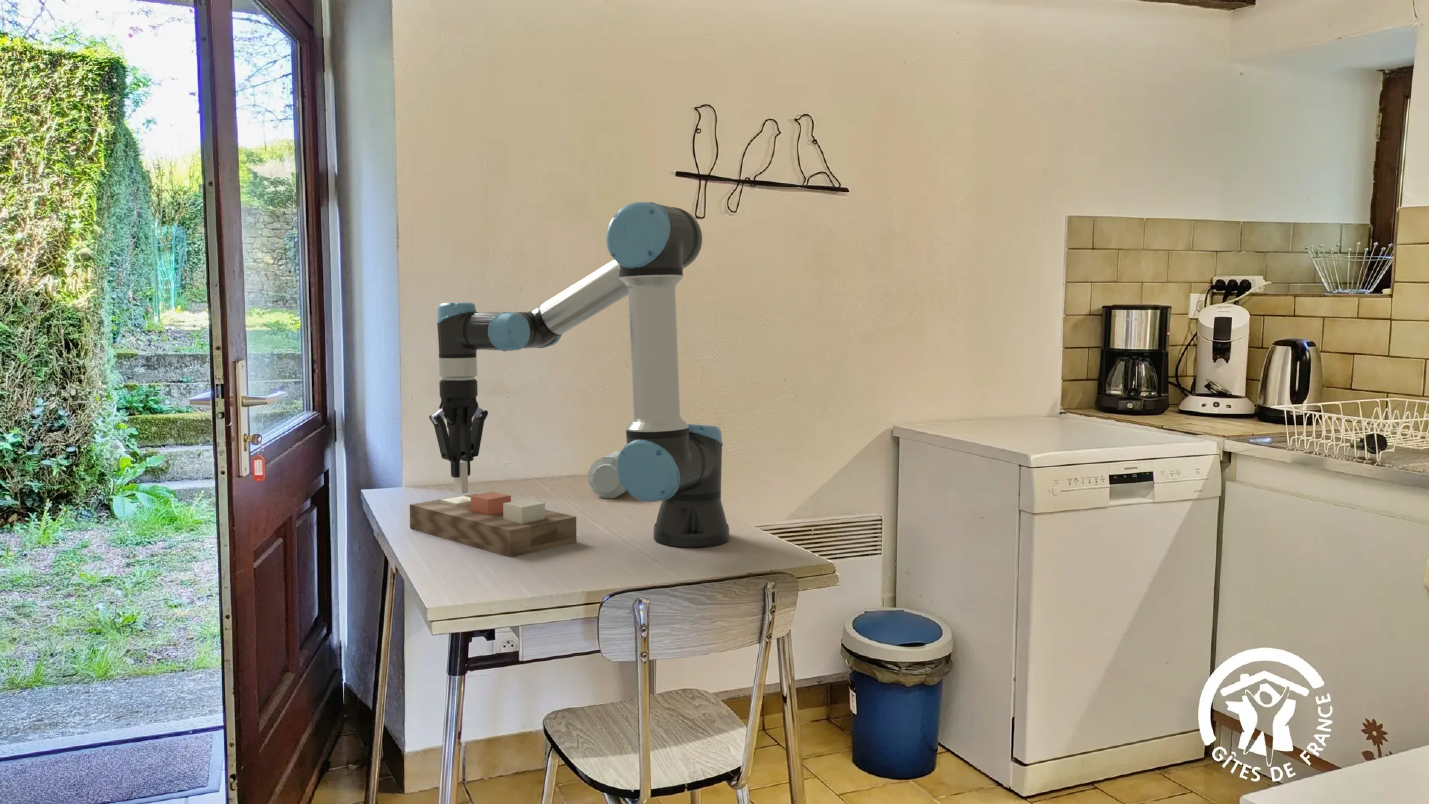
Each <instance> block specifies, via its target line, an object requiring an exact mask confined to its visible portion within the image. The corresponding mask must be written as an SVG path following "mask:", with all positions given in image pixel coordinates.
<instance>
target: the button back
mask: <svg viewBox="0 0 1429 804" xmlns="http://www.w3.org/2000/svg"><path fill="white" fill-rule="evenodd" d="M459 496H460V497H457V496H453V497H454V498H451V497H447V498H448V499H445V498H441V499H442V500H440V502H441V504H444V505H448V506H452V507H462V506H467V505H471V498H470V497H466V496H463V495H459Z"/></svg>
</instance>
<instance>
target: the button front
mask: <svg viewBox="0 0 1429 804" xmlns="http://www.w3.org/2000/svg"><path fill="white" fill-rule="evenodd" d="M545 510H546V502H542V501H536V500H533V499H527V498H525V499H520V500H519V499H518V500H514V501H511V502H507V503H503V519H504V520H508V521H512V522H516V523H520V524H523V523H528V522H533V521H538V520H542V519H545Z"/></svg>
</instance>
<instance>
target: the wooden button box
mask: <svg viewBox="0 0 1429 804" xmlns="http://www.w3.org/2000/svg"><path fill="white" fill-rule="evenodd" d="M478 494H479V493H469V494H464V495H462V496H466V497H470V498H471V496H472V495H478ZM460 496H461V495H458V496H456V497H460ZM454 497H455V496H452V497H451V496H450V498H454ZM448 498H449V497H446V498H444V499H448ZM442 499H443V498H440V499H433V500H427V501H422V502H416V503H412V504H409V529H410V530H415V531H418V532H421V533H425V534H428V535H431V536H435V537H439V538H443V539H445V540H448V541H453V542H455V543H460V544H463V545H466V546H470V547H473V548H477V549H481V550H485V551H487V552H491V553H494V554H498V555H501V556H505V557H508V558H513V557H517V556H521V555H525V554H529V553H535V552H538V551H542V550H547V549H551V548H552V549H553V548H555V547H559V546H563V545H569V544H573V543H577V516H574V515H571V514H567V513H566V514H565V513H562V512H556V511H552V510H548V509H545V519H542V520H538V521H533V522H528V523H523V524H520V523H516V522H512V521H508V520H504V519H503V513H497V514H492V515H484V514H480V513H476V512H472V511H471V505H467V506H462V507H452V506H448V505H444V504H441V502H440V500H442Z"/></svg>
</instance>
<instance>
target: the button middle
mask: <svg viewBox="0 0 1429 804" xmlns="http://www.w3.org/2000/svg"><path fill="white" fill-rule="evenodd" d="M477 494H478V495H472V496H471V511H472V512H476V513H480V514H484V515H492V514H497V513H503V503H507V502H512V495H510V494H505V493H500V492H497V491H491V492H485V493H477Z"/></svg>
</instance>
